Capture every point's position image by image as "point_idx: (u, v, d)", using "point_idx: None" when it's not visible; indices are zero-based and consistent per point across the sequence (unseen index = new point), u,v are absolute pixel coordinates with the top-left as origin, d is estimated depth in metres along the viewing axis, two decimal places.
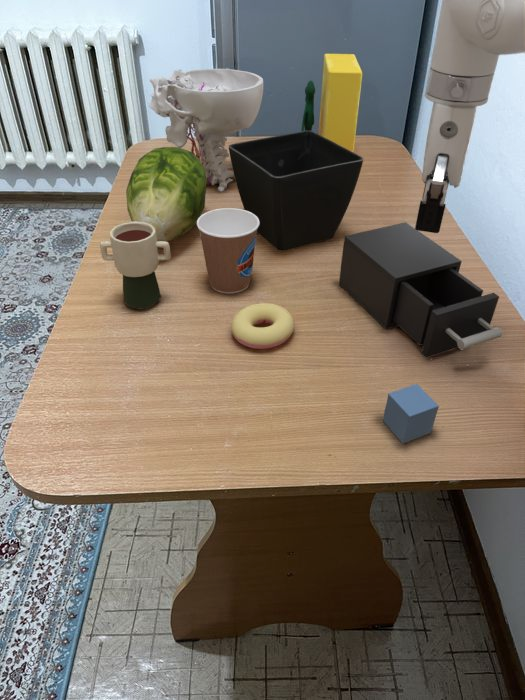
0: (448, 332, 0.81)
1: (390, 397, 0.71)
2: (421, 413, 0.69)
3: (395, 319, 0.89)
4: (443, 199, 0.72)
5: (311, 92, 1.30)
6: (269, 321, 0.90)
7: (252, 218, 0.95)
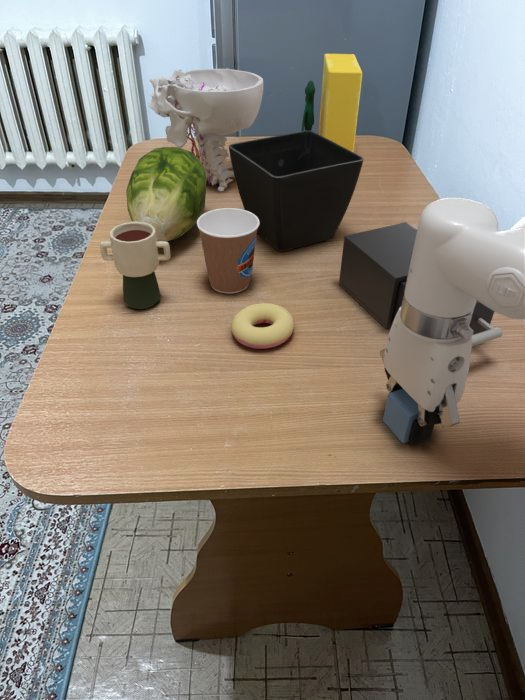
0: None
1: (390, 397, 0.71)
2: None
3: None
4: None
5: (311, 92, 1.30)
6: (269, 321, 0.90)
7: (252, 218, 0.95)
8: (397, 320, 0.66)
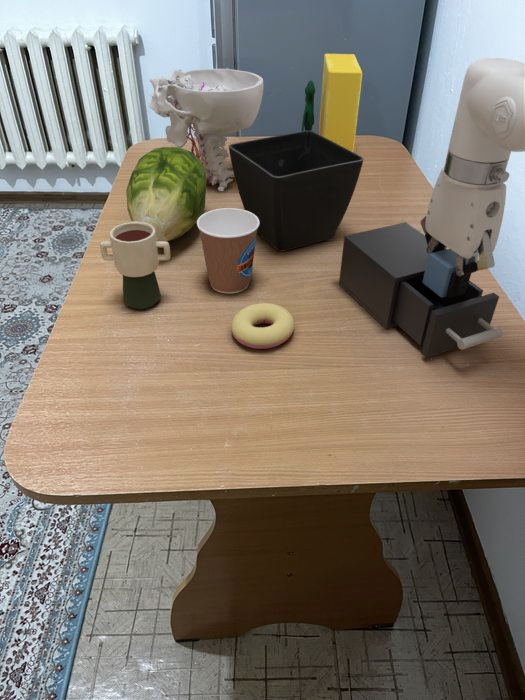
0: (448, 332, 0.81)
1: (430, 256, 0.82)
2: None
3: (395, 319, 0.89)
4: None
5: (311, 92, 1.30)
6: (269, 321, 0.90)
7: (252, 218, 0.95)
8: (440, 179, 0.76)
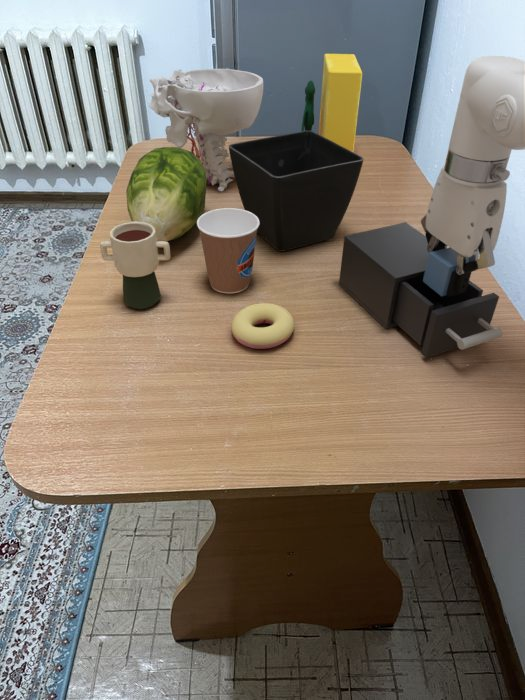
0: (448, 332, 0.81)
1: (431, 255, 0.82)
2: None
3: (395, 319, 0.89)
4: None
5: (311, 92, 1.30)
6: (269, 321, 0.90)
7: (252, 218, 0.95)
8: (440, 178, 0.76)
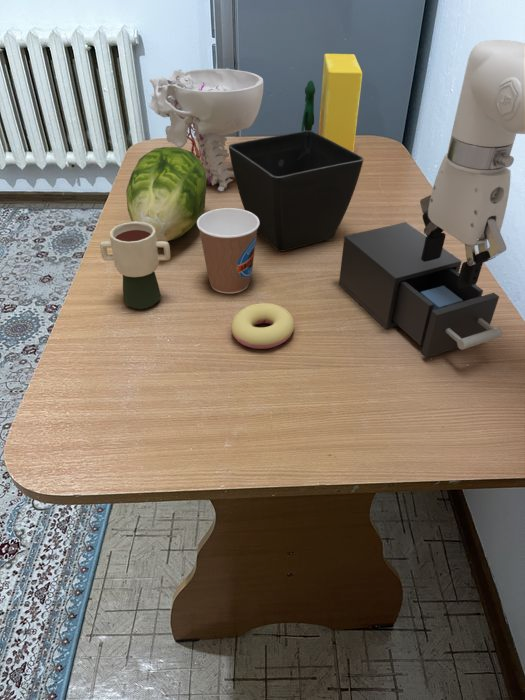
0: (448, 332, 0.81)
1: None
2: (448, 305, 0.84)
3: (395, 319, 0.89)
4: None
5: (311, 92, 1.30)
6: (269, 321, 0.90)
7: (252, 218, 0.95)
8: (443, 166, 0.75)
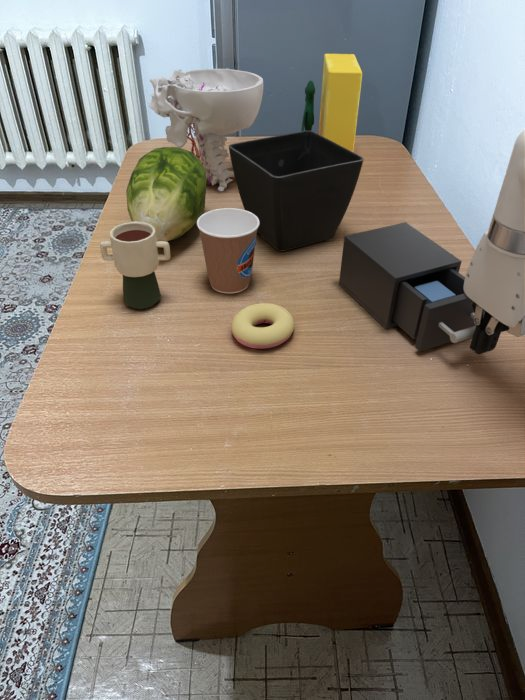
0: (441, 326, 0.82)
1: (415, 289, 0.87)
2: (441, 299, 0.85)
3: None
4: None
5: (311, 92, 1.30)
6: (269, 321, 0.90)
7: (252, 218, 0.95)
8: (482, 244, 0.72)
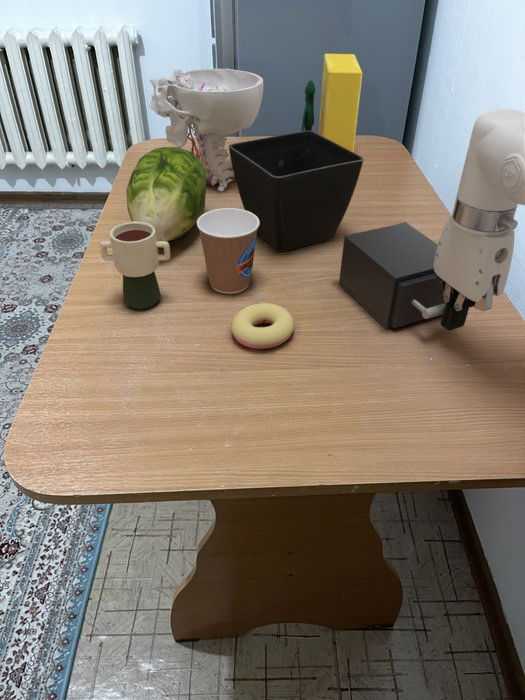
0: (414, 303, 0.87)
1: None
2: None
3: None
4: None
5: (311, 92, 1.30)
6: (269, 321, 0.90)
7: (252, 218, 0.95)
8: (448, 224, 0.77)
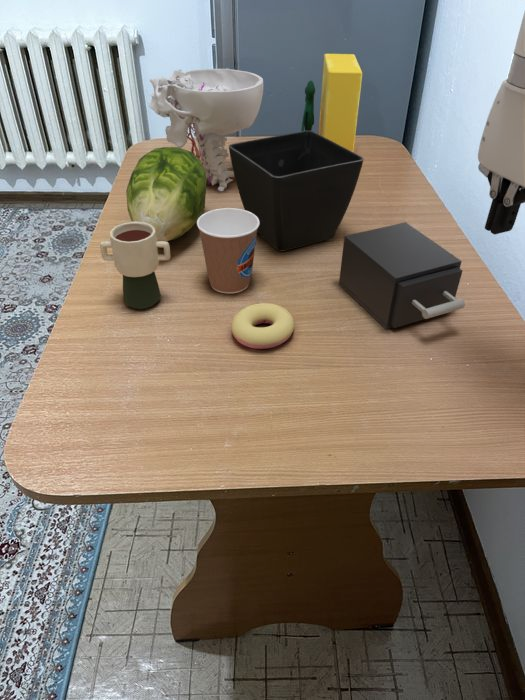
0: (414, 303, 0.87)
1: None
2: None
3: None
4: None
5: (311, 92, 1.30)
6: (269, 321, 0.90)
7: (252, 218, 0.95)
8: (500, 95, 0.64)
